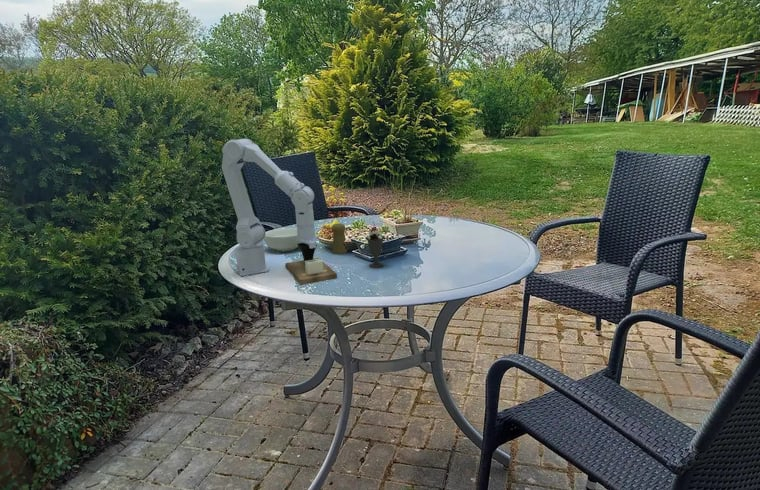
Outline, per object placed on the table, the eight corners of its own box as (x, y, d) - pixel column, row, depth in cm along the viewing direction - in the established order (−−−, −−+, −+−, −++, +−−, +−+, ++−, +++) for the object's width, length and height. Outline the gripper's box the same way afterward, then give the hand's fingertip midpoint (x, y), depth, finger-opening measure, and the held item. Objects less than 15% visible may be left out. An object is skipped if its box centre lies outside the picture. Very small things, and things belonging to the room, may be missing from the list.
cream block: (308, 274, 142) (307, 263, 141) (305, 272, 145) (304, 260, 144) (323, 272, 144) (322, 260, 143) (320, 269, 147) (319, 258, 146)
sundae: (376, 261, 159) (374, 220, 154) (389, 265, 154) (388, 222, 150) (362, 266, 154) (360, 223, 150) (376, 270, 149) (374, 226, 145)
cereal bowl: (311, 242, 187) (309, 226, 185) (303, 254, 171) (301, 236, 169) (271, 243, 188) (269, 227, 186) (259, 255, 172) (257, 237, 170)
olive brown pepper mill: (345, 254, 169) (343, 225, 166) (330, 253, 170) (328, 225, 167) (349, 249, 174) (347, 222, 172) (334, 249, 176) (332, 222, 173)
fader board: (300, 284, 139) (300, 279, 138) (285, 267, 156) (285, 262, 156) (337, 278, 143) (336, 273, 143) (318, 261, 161) (318, 257, 160)
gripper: (323, 227, 141) (326, 267, 145) (311, 219, 154) (314, 256, 158) (302, 230, 139) (305, 271, 142) (290, 221, 151) (294, 259, 155)
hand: (308, 264), depth 150 cm, fingers closed
